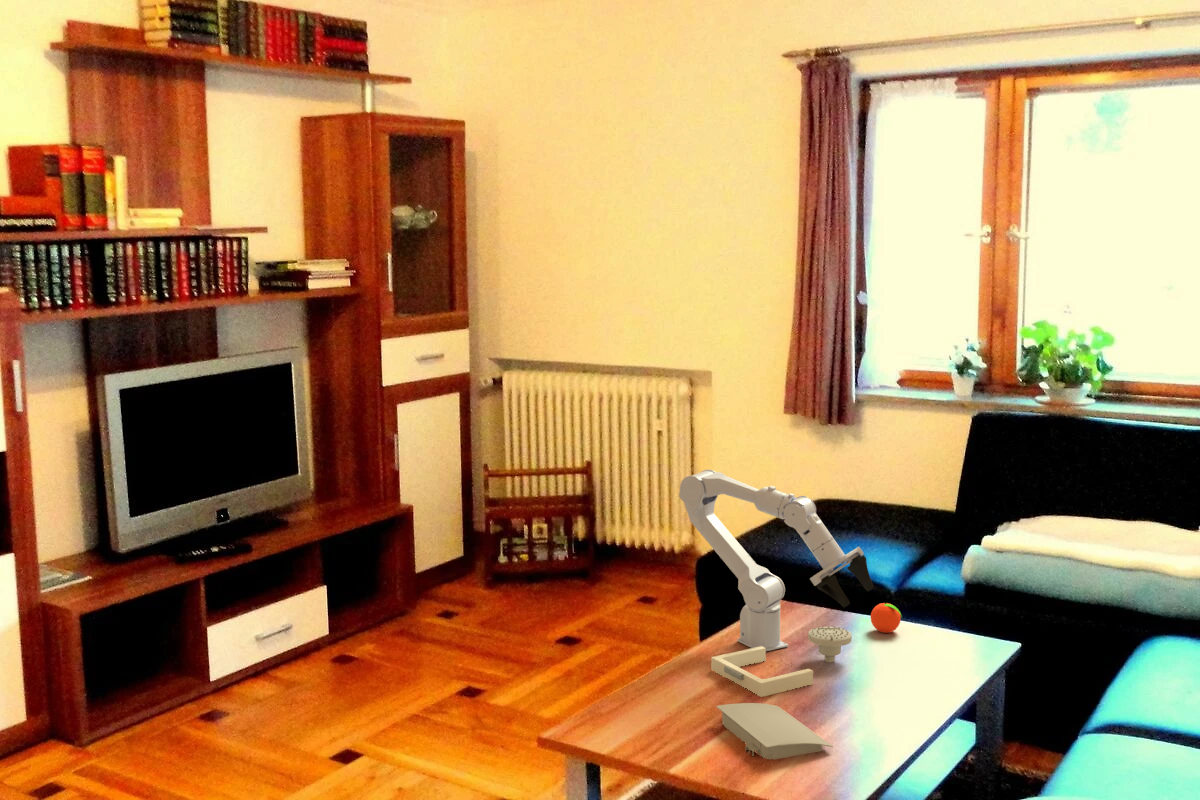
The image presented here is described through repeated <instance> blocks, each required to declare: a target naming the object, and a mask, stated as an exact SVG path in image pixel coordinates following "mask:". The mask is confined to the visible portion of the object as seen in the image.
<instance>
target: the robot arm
mask: <svg viewBox="0 0 1200 800" xmlns="http://www.w3.org/2000/svg"><path fill="white" fill-rule="evenodd" d="M719 495H725V496H729V497H732V498H734V499H738V500H742V501H745V502H749V503H750V504H751V503H752V504H754V507H755V508H756V510H757V511H759V512H762V513H764V514H767V515H770V516H772V517H776V518H778V519H781V520H783V522H784V523H785V525H787V526H788V527H790V528H793V529H794V530H795V531H796V532H797V533H798V535H799V536H800V538H801V539H802V540H803V542H804V543H805V545H806V546H807V547H808V548H809V550H810V552H811V553H812V555H813V556H814V558H815V559H816V560H817V562H818V563H819V565H820V566H821V568H822V570H820V571H819V572H817V573H816V574H814V575H813V576H811V577H810V578H809V580H810V582H811V583H812V584H813V586H815V587H816V588H817V589H818V590H819V591H820V592H823V593H824V594H826V595H829V596H830V597H831V598H832V599H833V600H835V601H836V602H837V603H838V604H839V605H841V607H843V608H844V609H845V608H846V607H847V606H849V605H851V602H850V600H849V598H848V597H847V595H846V593H845V592H844V590H843V589H842V587H841V586H840V583H839V581H838V579H837V575H834V574H836V573H837V572H838V571H840V570H842V569H843V568H844V567H846V566H847V565H849V566H847V567H846V569H847V570H848V571H849V572H850V573H851V574H852V575H854V577H856V579H857V580H858V582H859V583H860V584H861V586H862V587H863V589H865V591H866V592H870V591H872V589H874V588H875V586H874V583H873V582H872V579H871V576H870V573H869V569H868V565H867V564H868V563H867V557H866V555H865V553H864V551H863V549H862V548H861V547H860V546H857V547H856V548H854V549H853V550H851V551H849V552H848V553H847V554H845V552H844V551H843V549H842V548H841V546H839V544H838V543H837V541H836V539H835V538H834V537H833V536H832V534H831V532H830V531H829V530H828V528H827V527H826V525H825V524H824V523H823V521H822V519H821V518H820V517H819V516H818V514H817V506H816V504H815V502H814V501H813V500H812V499H811V498H809V497H807V496H806V495H800V496H795V494H794V493H785V492H782V491H780V490H777V488H776V486H774V485H769V486H764V487H762V488H760V489H758V488H756V487H754V486H752V485H749V484H747V483H744V482H742V481H739V480H737V479H735V478H732V477H730V476H727V475H725V474H724V473H723V472H720V471H715V470H712V469H704V470H702V471H700V472H697V473H695V474H692V475H687V476H685V477H684V478H683V479H682V480H681V482H680V485H679V493H678V496H679V499H680V500H681V502H683V503H684V507H685V509H686V512H687V516H688V518H689V521H690V522H691V525H693V527H694V528H695V529H696V530H697V531H698V532H699V533H700V535H701V536H702V537H703V539H705V541H706V542H707V543H708V544H709V546H711V548H712V549H713V551H715V553H716V554H717V555H718V556H719V558H720V559H721V560H722V561H723V563H725V565H726V566H727V567H728V568H729V570H730V571H731V572H732V574H734V575H735V577H736V578H737V579H738V582H737V583H738V584H737V585H738V586H737V589H738V590H739V592H740V593H741V594H742V597H743V600H744V603H745V605H744V606H743V607H742V609H741V611H740V613H739V638H736V641H737V642H738V643H740V644H742V645H744V646H746V647H749V649H751V648H756V647H760V646H762V647H764V648H766V652H769V651H773V650H774V651H775V650H777V649H782V648H786V647H789V644H788V643H786V642H784V641H782V640H781V600H782V599H783V598H784V596H785V594H786V593H785V592H786V587H785V584H784V582H783V580H782V578H780V577H779V576H777V575H775V574H773V573H771V572H770V570H769V569H768V568H766V567H765V566H761V565H759V564H757V563H756V561H755V560H754V559H753V558H752V557H751V555H750V554H749V553H748V552H747V551H746V550H745V549H744V547H743V545H741V544H740V543H739V542H738V540H737V539H736V538H735V536H733V534H732V533H731V532H730V530H728V528H727V527H726V526H725V525H724V523H722V521H721V520H720V518H718V516H717V515H716V514H715V512H714V511H715V504H716V501H717V499H718V496H719ZM840 564H841V565H840ZM839 565H840V566H839ZM838 566H839V567H838ZM836 567H837V568H836ZM835 568H836V569H835Z"/></svg>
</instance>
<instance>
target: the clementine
mask: <svg viewBox="0 0 1200 800" xmlns="http://www.w3.org/2000/svg"><path fill="white" fill-rule="evenodd" d="M902 618H903V615H902V613H901V611H900V610H899V608H897V607H896V606H895V605H893V604H891V603H888V602H883V603H879V604H877V605H875V606H874V608H873V609H872V611H871V613H870V622H871V624H872V626H873V627H874V629H876V631H879V632H880V633H884V634H887V633H892V632H893V631H896V630H897V628H898V627H899V626H900V623H901V619H902Z"/></svg>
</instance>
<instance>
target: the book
mask: <svg viewBox="0 0 1200 800" xmlns="http://www.w3.org/2000/svg"><path fill="white" fill-rule="evenodd" d="M715 707H716V708H717V709H718V711H721V713H722V715H721V716H722V718H721V719H722V720H721V722H722V724H723V725H724V726H723V725H722V726H723V727H724V728H726V729H727V730H728V729H729V730H730V731H729V730H728V731H729V732H731V733H732V732H733V733H734V734H735V735H736V736H735V735H734V734H733V733H732V734H733V735H734V736H735V737H736V738H738V737H739V738H740V739H741V740H742V741H741V740H740V739H739V738H738V739H739V740H740V741H741V742H743V741H744V742H745V743H746V744H747V745H746V744H745V743H744V742H743V743H744V744H745V751H746V750H749V751H748V754H749V753H750V754H751V751H752V756H754V753H756V752H757V753H758V754H759V755H761V756H762V757H763V758H762V757H761V756H760V757H761V758H762V759H764V758H767V759H766V760H771V759H774V761H775V760H779V759H785V758H790V757H796V756H801V755H805V753H807V754H811V752H812V753H817V752H823V746H824V747H830V748H833V745H832V744H831V743H829V742H828V741H826V740H825V739H823V738H822V737H821V736H819V735H818V734H817V733H815V732H814V731H813V730H811V729H810V728H809V727H808V726H806V725H805V724H804V723H802V722H801V721H799V720H798V719H796V718H795V717H794V716H793V715H792V714H789V712H787V711H785V709H783V708H781V707H780V705H779V706H778V705H774V704H769V703H757V702H743V703H742V702H741V703H739V702H738V703H727V704H719V705H716V706H715ZM755 751H756V752H755ZM757 753H756V754H757ZM758 754H757V755H758ZM800 754H801V755H800ZM759 755H758V756H759Z"/></svg>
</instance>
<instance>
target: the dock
mask: <svg viewBox="0 0 1200 800" xmlns="http://www.w3.org/2000/svg"><path fill="white" fill-rule="evenodd" d="M766 653H767V651H766V648H764V647H762V646H760V647H756V648H747V649H742V650H738V651H733V652H730V653H723V654H720V655H715V656H711V657H710V658H711V661H710V662H711V665H710V666H711V667H710V668H711V670H713V671H715V672H716V673H715V672H714V673H715V674H717V673H718V674H717V675H719V674H720V675H719V676H721V675H722V676H721V677H723V676H724V677H726V678H728V679H730V680H732V681H734V682H735V683H734V682H733V683H734V684H736V683H737V684H739V685H741V686H742V687H741V686H740V687H741V688H743V687H744V688H743V689H745V688H747V689H748V690H747V689H746V690H747V691H749V690H750V691H752V692H753V693H752V692H751V693H752V694H754V693H755V694H754V695H756V694H757V695H756V696H758V697H760V698H764V697H768V696H771V695H772V696H773V695H775V694H776V695H777V694H780V693H783V692H787V690H788V691H792V689H793V690H796V689H795V688H797V689H801V688H804V687H803V686H805V687H808V686H807V685H809V686H813V685H814V670H812V669H810V668H806V669H801V670H797V671H794V672H789V673H784V674H781V675H777V676H772V677H768V678H760V677H759V676H757V675H755V674H753V673H751V672H749V671H747V670H745V669H743V668H741V666H742V667H745V665H746V666H750V665H749V664H751V665H754V663H755V664H759V663H763V661H764V662H766V661H767V659H766V657H767V656H766ZM713 671H712V672H713ZM724 677H723V678H724ZM726 678H725V679H726ZM728 679H727V680H728ZM730 680H729V681H730ZM732 681H731V682H732ZM737 684H736V685H737ZM812 684H813V685H812ZM739 685H738V686H739ZM800 687H801V688H800ZM750 691H749V692H750ZM763 696H764V697H763Z"/></svg>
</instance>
